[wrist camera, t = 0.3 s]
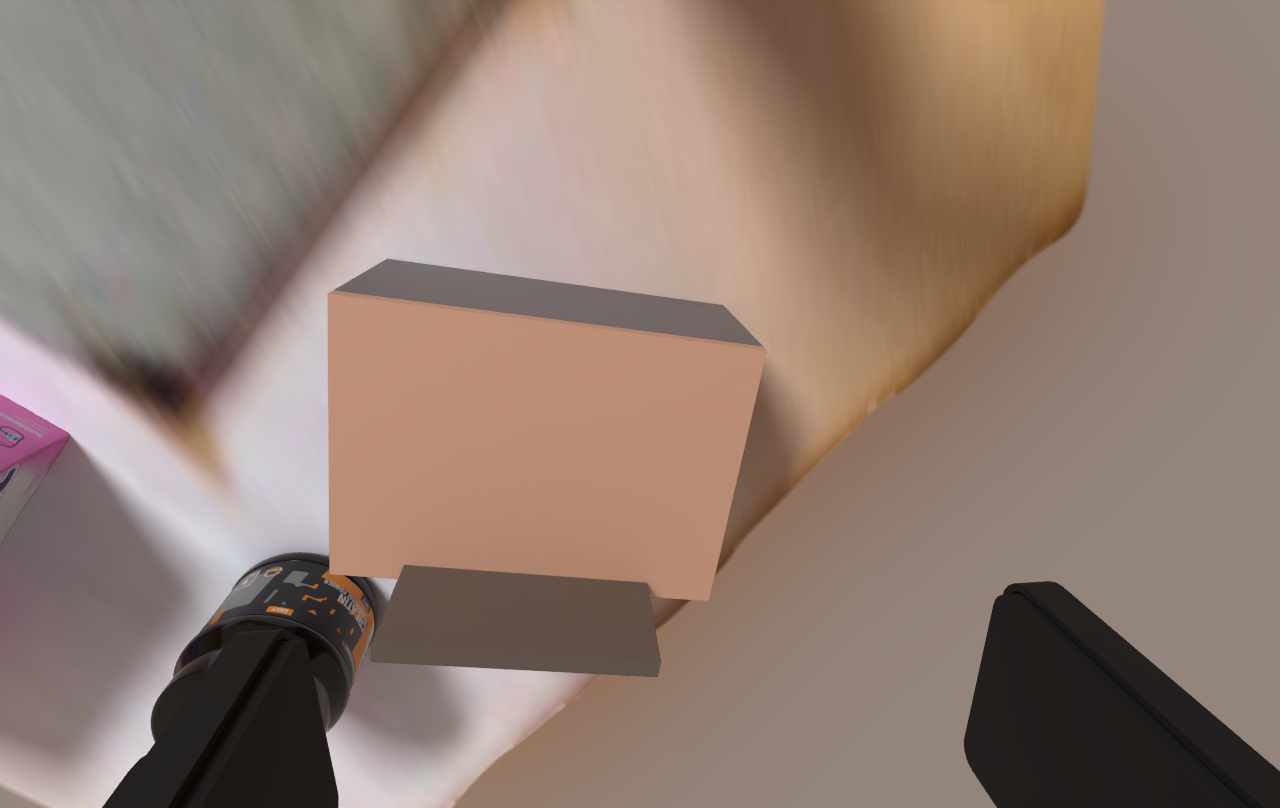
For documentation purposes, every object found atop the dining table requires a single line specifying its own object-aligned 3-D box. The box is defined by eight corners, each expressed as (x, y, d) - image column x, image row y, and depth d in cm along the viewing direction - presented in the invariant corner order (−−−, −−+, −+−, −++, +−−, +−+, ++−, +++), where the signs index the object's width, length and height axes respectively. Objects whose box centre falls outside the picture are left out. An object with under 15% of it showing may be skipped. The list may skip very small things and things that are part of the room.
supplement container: (403, 638, 52) (358, 771, 41) (275, 674, 52) (195, 816, 41) (348, 528, 48) (281, 642, 37) (210, 567, 48) (101, 692, 37)
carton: (387, 258, 42) (334, 290, 32) (723, 305, 45) (762, 345, 35) (381, 483, 47) (334, 564, 38) (681, 510, 50) (706, 591, 41)
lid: (333, 290, 32) (269, 327, 25) (763, 346, 35) (808, 393, 29) (334, 565, 38) (281, 657, 31) (706, 592, 41) (733, 681, 34)
